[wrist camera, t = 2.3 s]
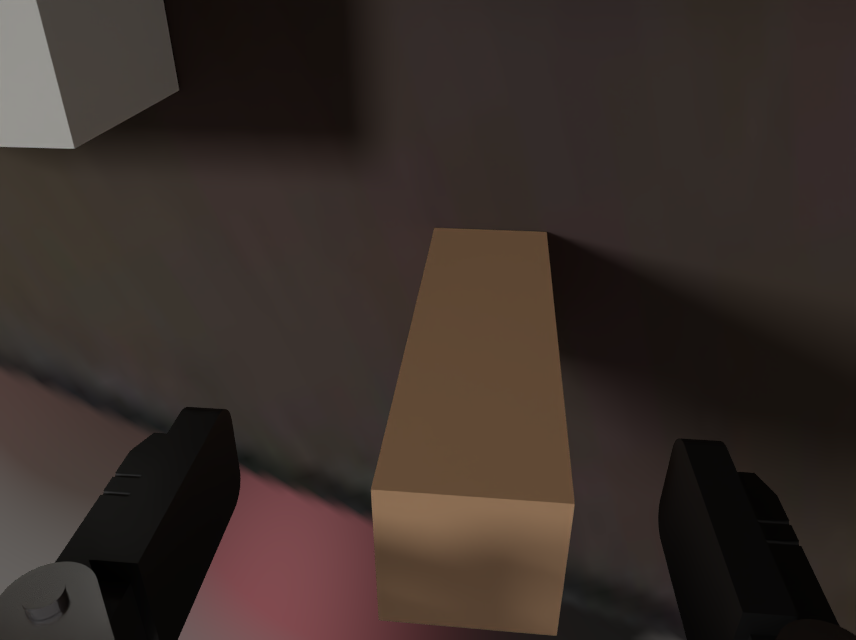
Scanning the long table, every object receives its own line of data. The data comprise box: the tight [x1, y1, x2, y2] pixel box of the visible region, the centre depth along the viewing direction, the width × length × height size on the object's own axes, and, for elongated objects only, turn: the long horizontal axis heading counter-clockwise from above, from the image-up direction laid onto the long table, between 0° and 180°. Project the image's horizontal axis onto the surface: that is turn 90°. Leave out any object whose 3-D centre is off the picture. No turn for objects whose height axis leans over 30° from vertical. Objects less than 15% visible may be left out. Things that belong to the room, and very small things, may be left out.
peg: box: [371, 228, 575, 636], centre depth 16 cm, size 3×3×10 cm
